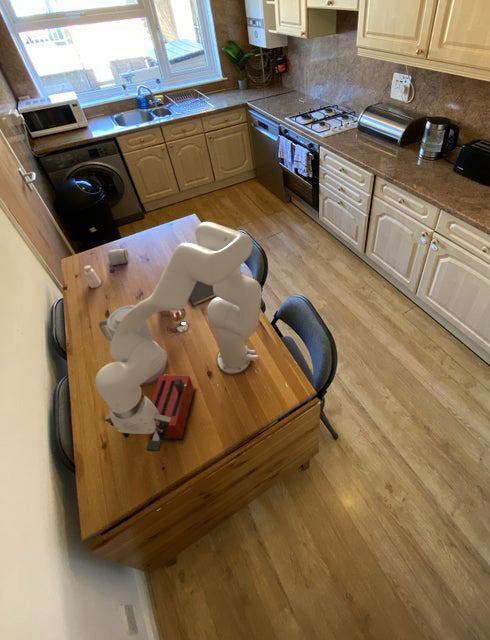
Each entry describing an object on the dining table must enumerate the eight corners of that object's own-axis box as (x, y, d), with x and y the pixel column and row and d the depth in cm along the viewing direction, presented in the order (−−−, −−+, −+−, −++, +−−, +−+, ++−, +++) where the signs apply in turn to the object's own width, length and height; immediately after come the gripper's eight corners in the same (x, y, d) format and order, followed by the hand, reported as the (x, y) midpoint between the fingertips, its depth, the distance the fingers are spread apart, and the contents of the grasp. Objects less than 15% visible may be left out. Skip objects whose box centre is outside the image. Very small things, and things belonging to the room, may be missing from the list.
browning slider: (184, 386, 111) (181, 378, 108) (182, 391, 110) (179, 384, 107) (179, 385, 111) (176, 378, 108) (177, 391, 110) (174, 384, 107)
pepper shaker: (102, 285, 163) (94, 268, 156) (90, 289, 161) (81, 272, 154) (100, 278, 167) (91, 261, 160) (88, 283, 164) (79, 266, 157)
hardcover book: (193, 306, 151) (192, 303, 150) (177, 275, 167) (176, 272, 165) (226, 292, 157) (226, 288, 156) (208, 263, 173) (207, 260, 172)
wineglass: (192, 326, 142) (186, 307, 135) (180, 335, 139) (173, 316, 132) (184, 319, 145) (178, 300, 138) (172, 327, 142) (165, 308, 135)
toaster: (195, 390, 121) (189, 374, 114) (182, 440, 108) (175, 426, 102) (166, 389, 121) (159, 373, 115) (150, 439, 108) (141, 424, 102)
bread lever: (165, 429, 103) (164, 428, 102) (159, 451, 98) (158, 449, 97) (153, 429, 103) (152, 427, 102) (146, 451, 98) (145, 449, 98)
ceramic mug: (129, 264, 174) (124, 253, 169) (111, 268, 172) (106, 256, 167) (130, 252, 182) (125, 240, 177) (113, 255, 180) (108, 244, 175)
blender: (172, 356, 131) (149, 300, 112) (162, 387, 122) (135, 331, 102) (131, 356, 132) (102, 300, 112) (118, 386, 123) (84, 330, 103)
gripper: (85, 415, 81) (109, 446, 91) (157, 418, 80) (173, 449, 90) (100, 385, 87) (121, 417, 97) (167, 387, 86) (181, 420, 96)
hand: (146, 432), depth 94 cm, fingers open, 9 cm apart
